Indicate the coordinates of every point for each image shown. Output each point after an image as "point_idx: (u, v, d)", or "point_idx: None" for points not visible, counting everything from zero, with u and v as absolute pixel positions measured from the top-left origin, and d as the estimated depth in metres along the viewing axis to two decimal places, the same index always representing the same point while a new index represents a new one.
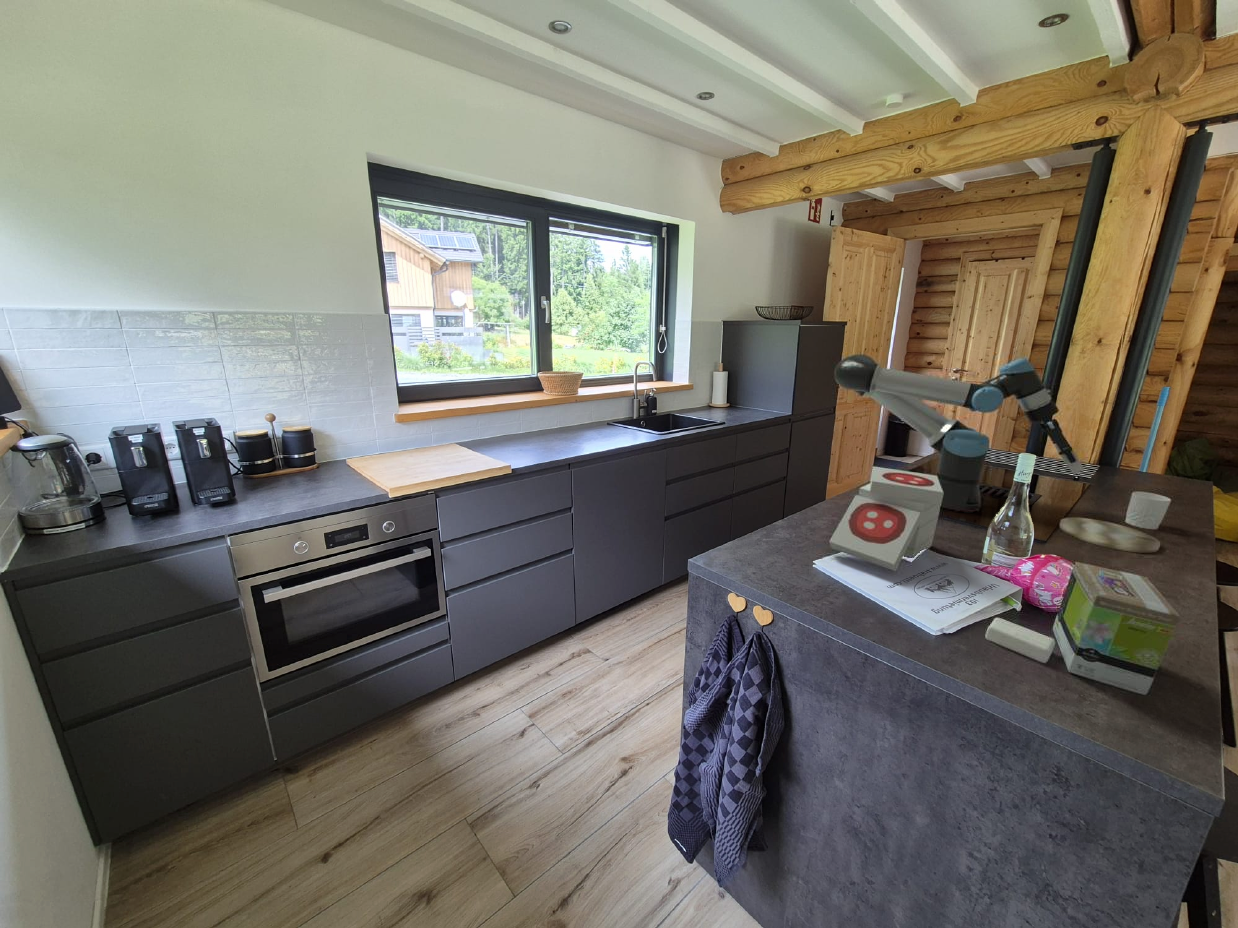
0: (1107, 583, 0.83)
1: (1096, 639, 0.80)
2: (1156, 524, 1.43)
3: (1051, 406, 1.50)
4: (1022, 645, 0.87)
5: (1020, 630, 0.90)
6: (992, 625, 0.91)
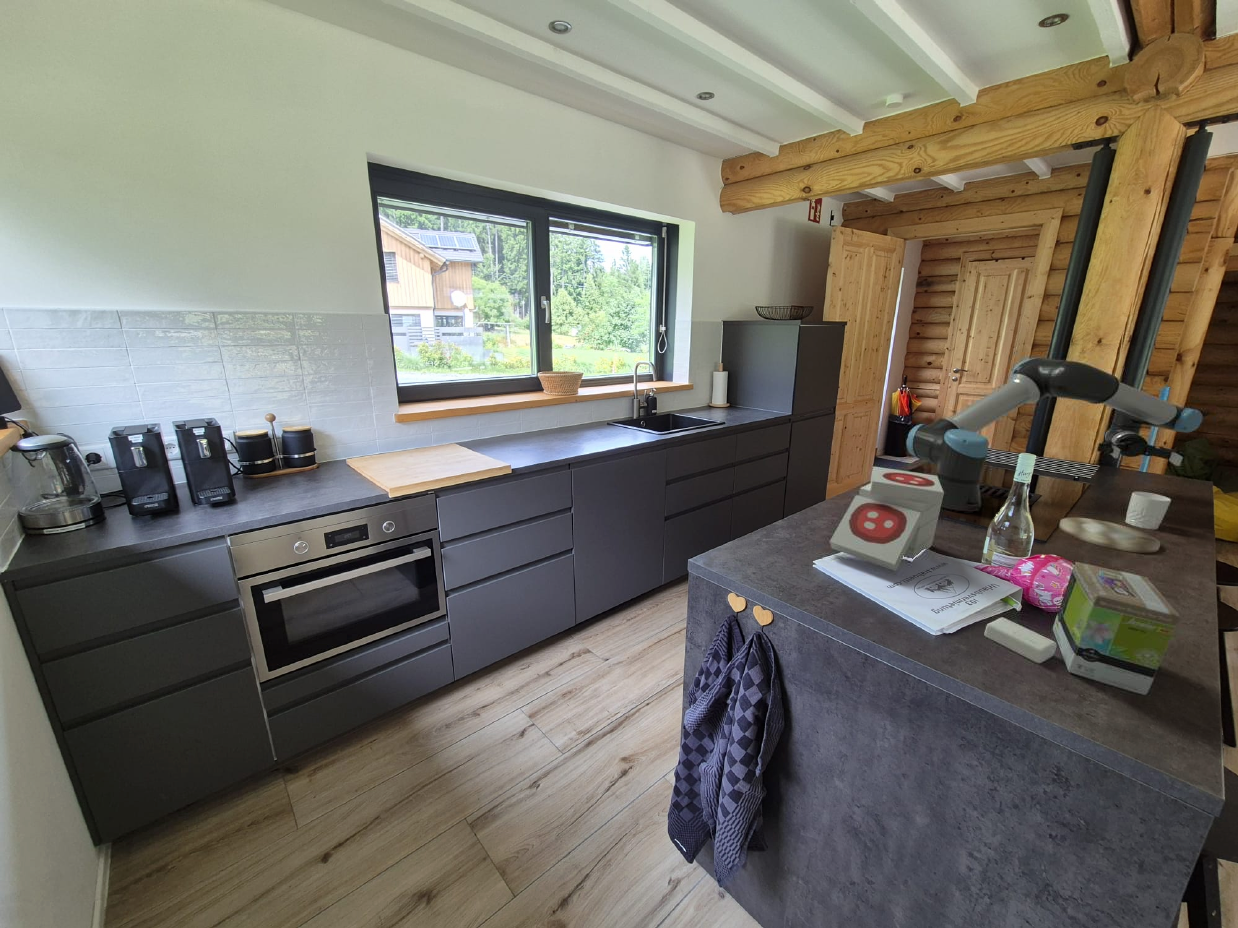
0: (1107, 583, 0.82)
1: (1096, 639, 0.80)
2: (1156, 524, 1.43)
3: None
4: (1018, 644, 0.87)
5: (1021, 630, 0.89)
6: (992, 623, 0.92)
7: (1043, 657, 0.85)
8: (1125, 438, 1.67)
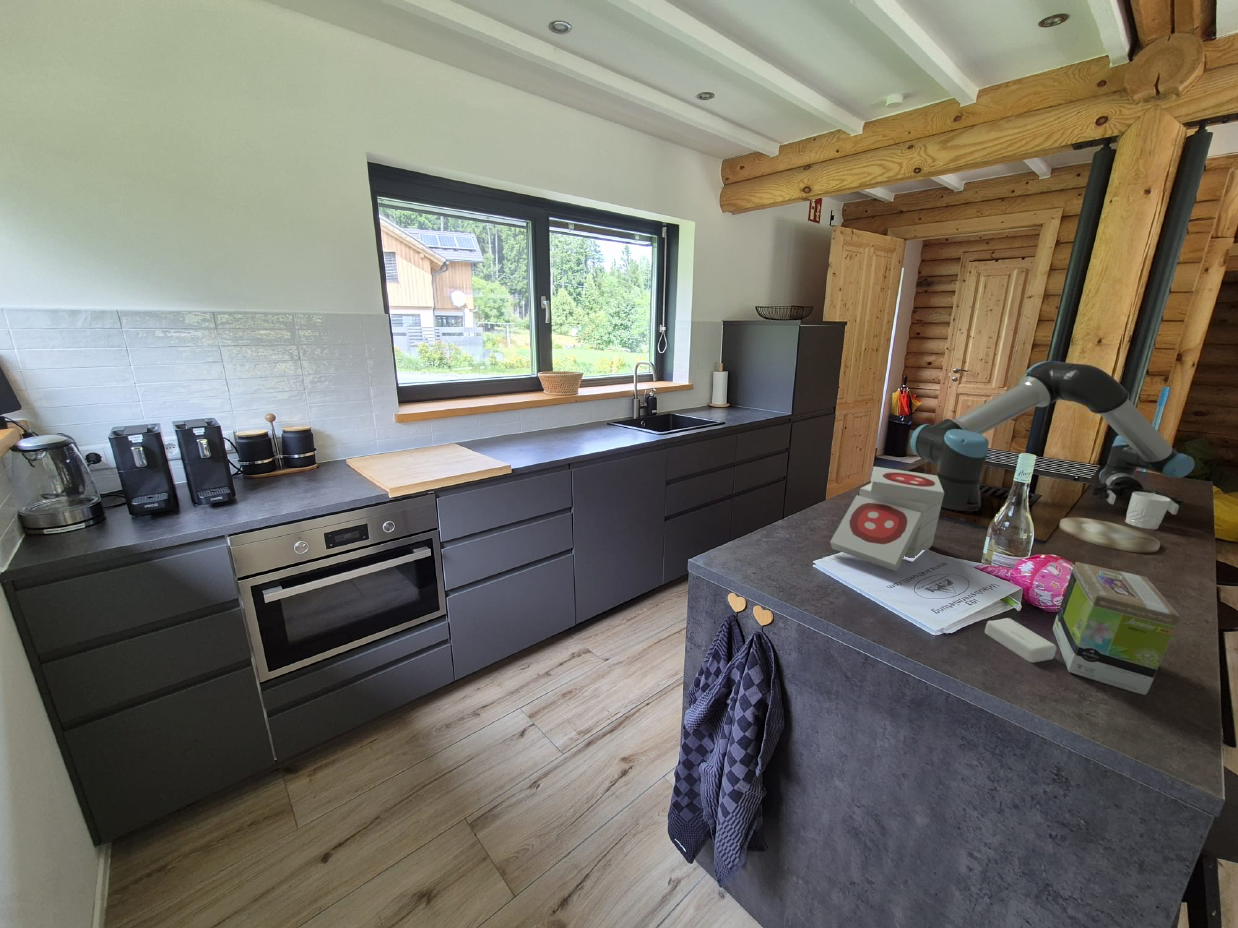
0: (1107, 583, 0.83)
1: (1096, 639, 0.80)
2: (1156, 524, 1.43)
3: None
4: (1012, 642, 0.88)
5: (1021, 631, 0.89)
6: None
7: (1036, 657, 0.85)
8: (1120, 481, 1.64)
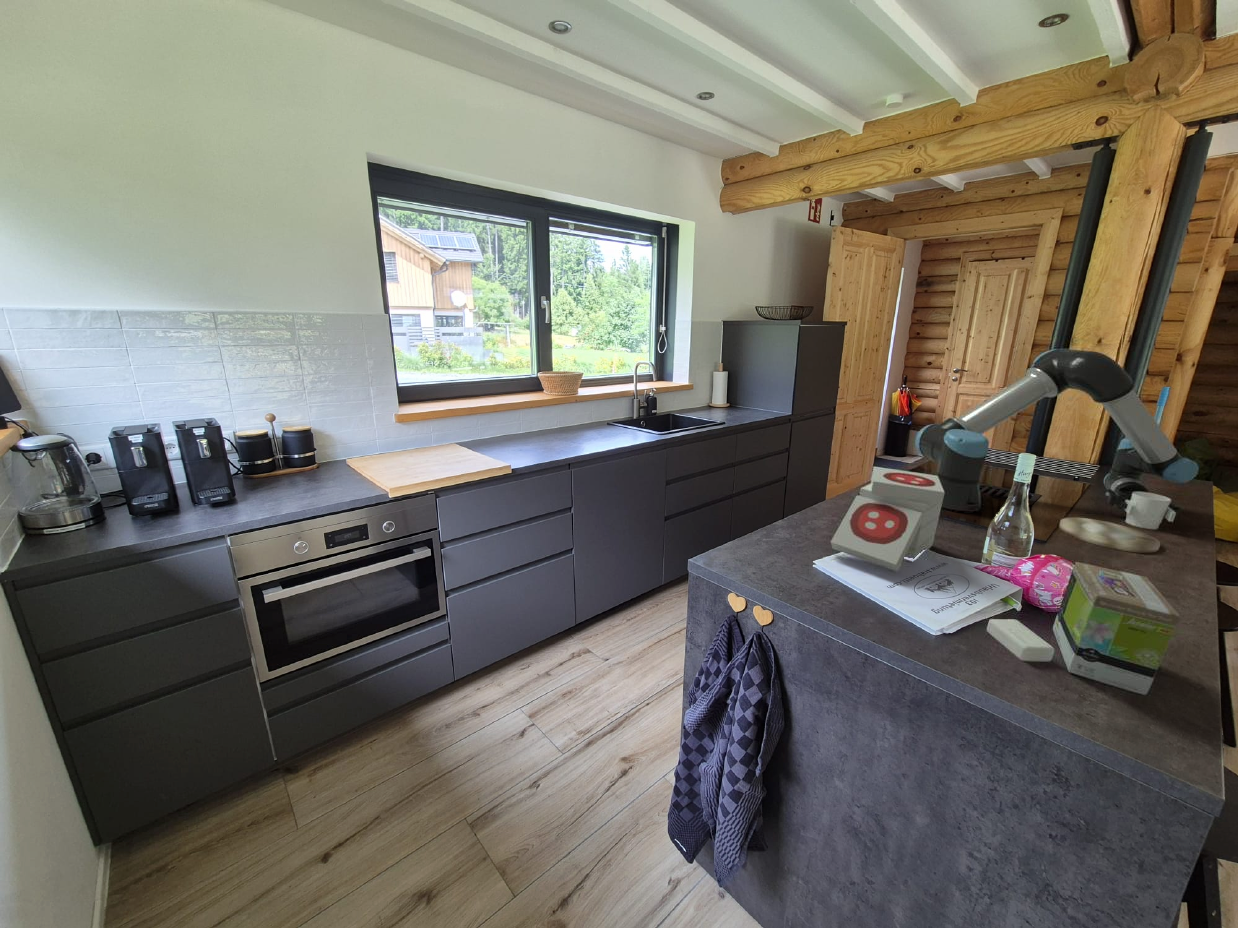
0: (1107, 583, 0.82)
1: (1096, 639, 0.80)
2: (1156, 524, 1.43)
3: None
4: (1008, 639, 0.88)
5: (1022, 631, 0.89)
6: (995, 619, 0.93)
7: (1027, 655, 0.85)
8: (1126, 487, 1.57)
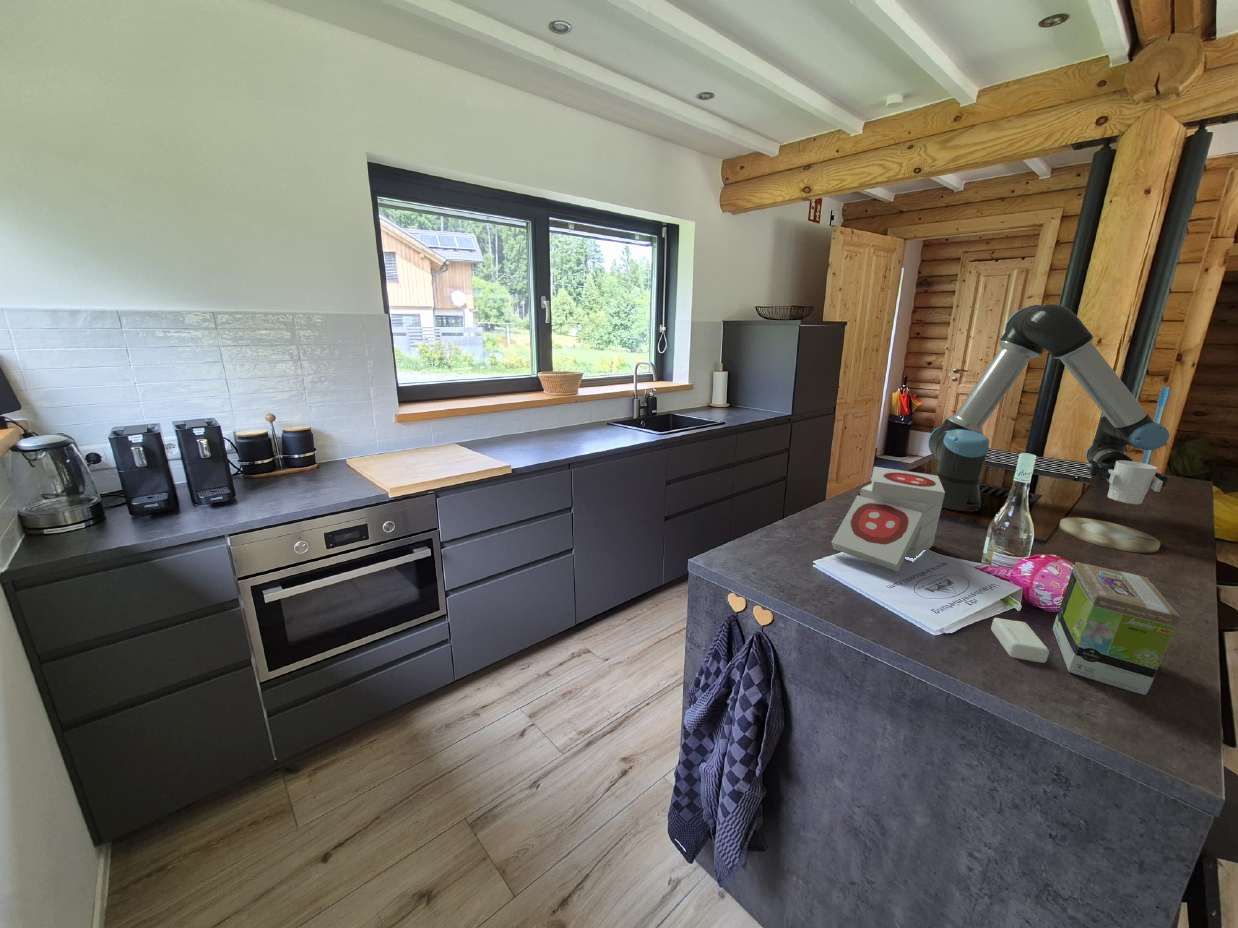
0: (1107, 583, 0.82)
1: (1096, 639, 0.80)
2: (1141, 495, 1.30)
3: None
4: (1003, 636, 0.89)
5: (1023, 631, 0.89)
6: None
7: (1016, 652, 0.86)
8: (1109, 457, 1.45)
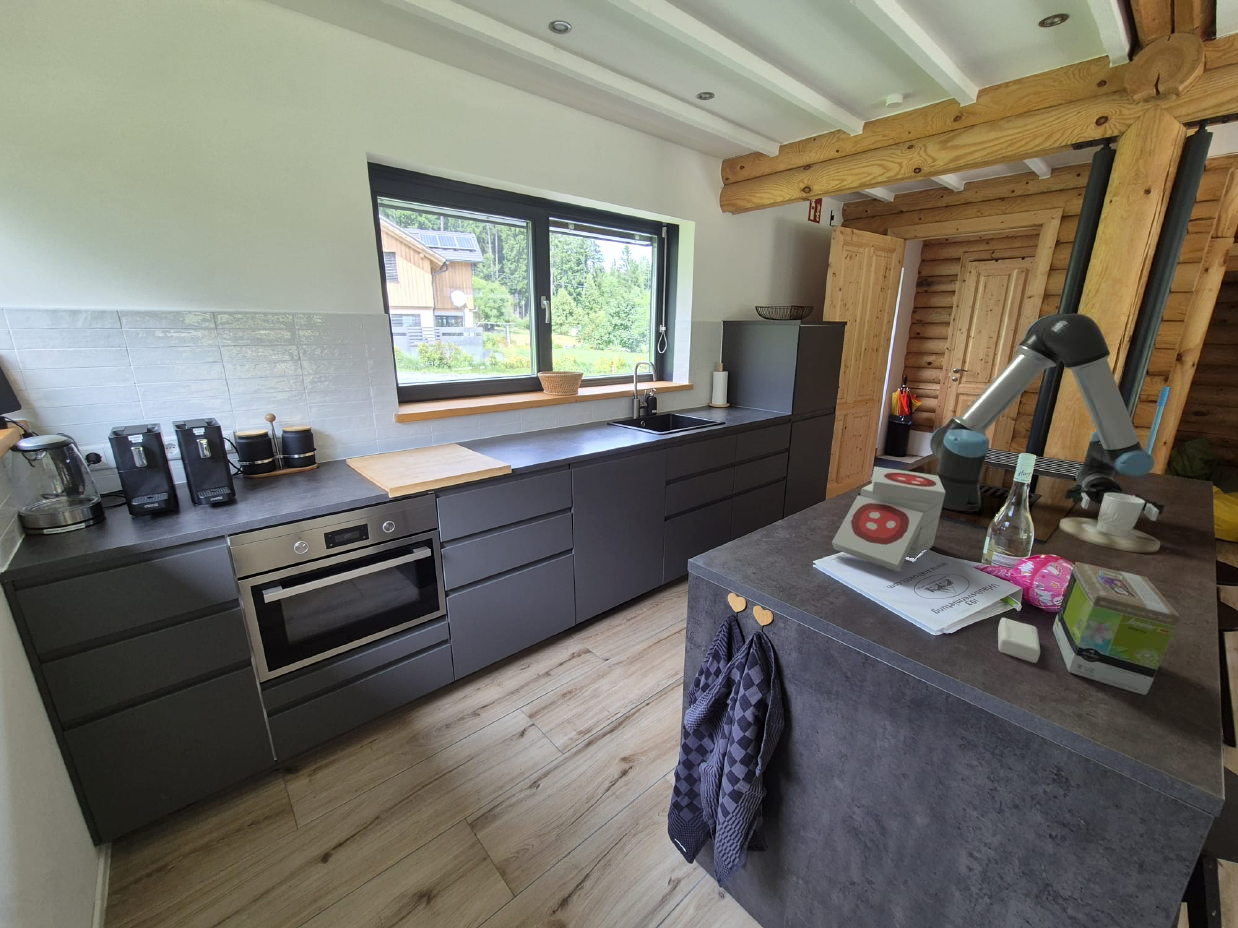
0: (1107, 583, 0.83)
1: (1096, 639, 0.80)
2: (1129, 528, 1.32)
3: None
4: (1000, 633, 0.90)
5: (1023, 632, 0.89)
6: (1007, 619, 0.93)
7: (1004, 647, 0.87)
8: (1096, 483, 1.46)
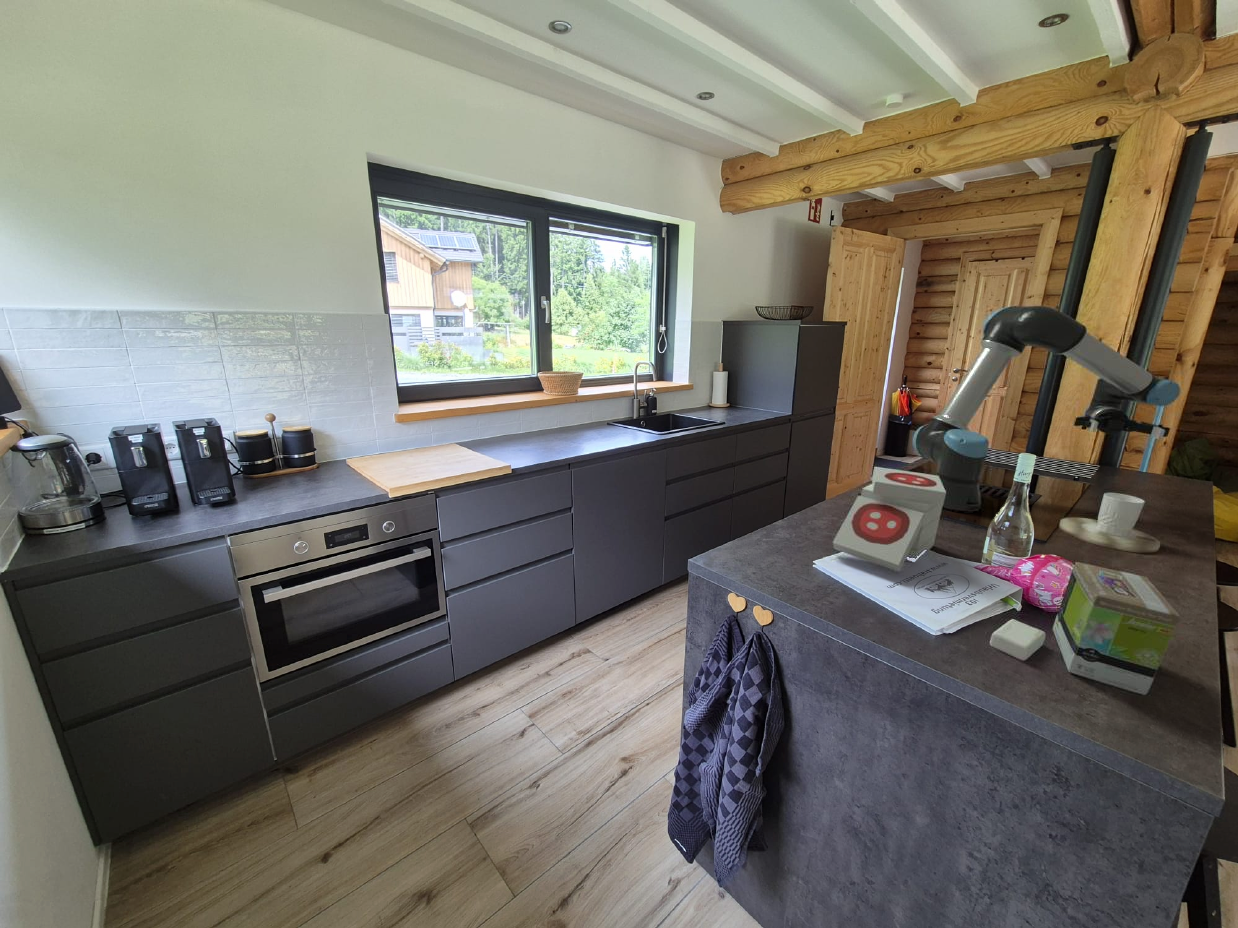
0: (1107, 583, 0.82)
1: (1096, 639, 0.80)
2: (1129, 528, 1.32)
3: None
4: None
5: (1023, 632, 0.89)
6: None
7: (994, 641, 0.89)
8: (1105, 413, 1.54)
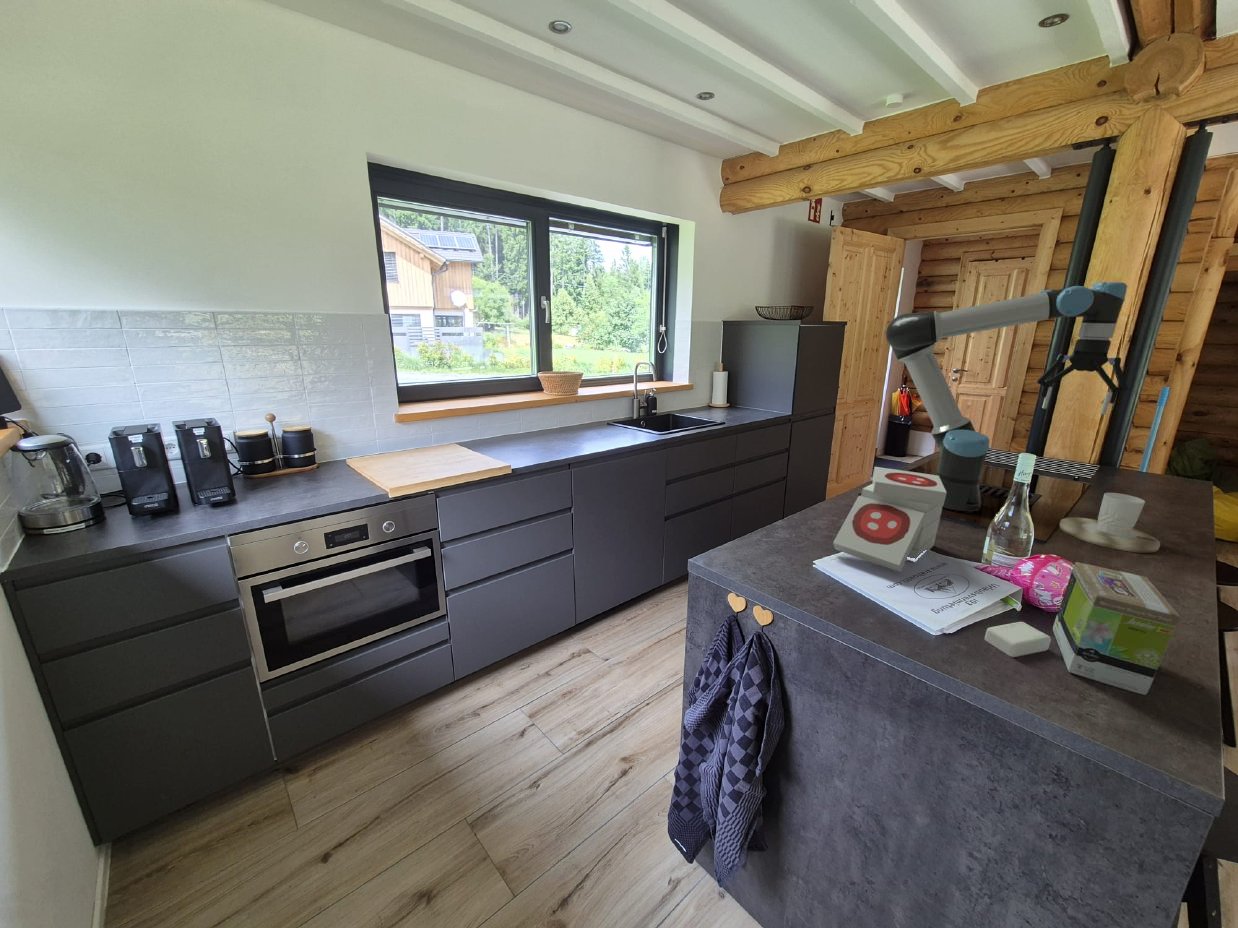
0: (1107, 583, 0.83)
1: (1096, 639, 0.80)
2: (1129, 528, 1.32)
3: None
4: None
5: (1023, 633, 0.89)
6: (1025, 623, 0.92)
7: (987, 636, 0.90)
8: (1081, 352, 1.45)
